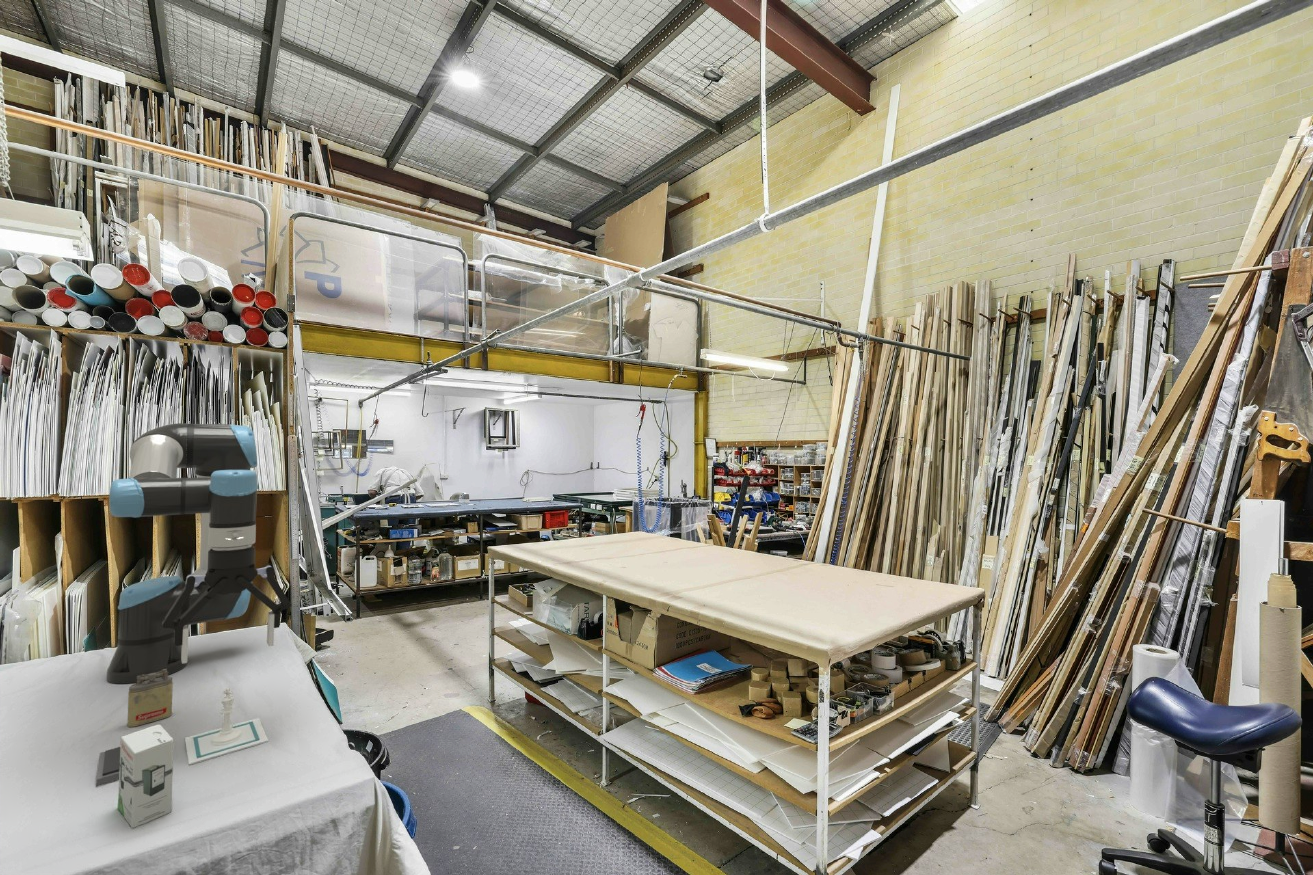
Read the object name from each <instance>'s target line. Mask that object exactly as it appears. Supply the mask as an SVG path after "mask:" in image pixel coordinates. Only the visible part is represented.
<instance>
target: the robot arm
mask: <svg viewBox="0 0 1313 875" xmlns="http://www.w3.org/2000/svg"><path fill="white" fill-rule="evenodd" d="M256 445H257V444H256V439H255V434H254V431H253V429H252V428H251V427H249V426H247V425H242V424H241V425H237V424H232V423H231V424H230V423H229V424H225V423H221V424H220V423H217V424H216V423H184V422H183V423H182V422H181V423H171V424H166V425H161V426H159V427H156V428H153V429H150V430H148V431H146V432H144V433H142V434H141V435H140V436H138V437H137V438H136V439H135V440H134V441H133V442H132V444H131V447H130V449H129V459H130V461H131V463H132V464H131V469H130V471H129V477H127V478H121V479H120V478H117V479H114V480H113V481H112V482H111V483H110V487H109V499H108V500H109V501H108V503H109V504H108V506H109V514H110V515H111V516H112V517H114V518H115V517H116V518H134V519H135V518H136V519H137V518H141V517H155V516H173V515H175V516H176V515H177V516H178V515H194V514H195V515H196V514H201V519H200V520H201V521H200V522H201V524H200V546H199V547H200V548H199V567H198V568H197V569H196V570H195V571H193V572H192V573H191V574H190V573H189V574H187V576H186V578H185V580H183V579H182V578H181V577H180V575H171V576H162V577H161V576H160V577H155V578H151V579H146V580H143V581H140V582H135V583H133V584H130V585H129V586H127V587H125V588H124V589H123V590H122V591H121V592H120V594H119V602H118V606H117V609H118V628H117V630H118V632H117V634H118V635H117V647H116V649H115V652H114V654H113V656H112V659H111V661H110V663H109V665H108V668H107V671H106V681H107V682H108V683H111V684H135V683H136V682H137V676H140V675H147V674H151V673H155V672H159V671H162V670H163V669H167V672H168V676H169V675H171V674H174V673H176V672H178V671H180V670H182V669H184V668H185V667H186V666H187V664H188V656H189V655H188V652H189V651H188V650H189V625H196V624H197V625H198V624H203V623H204V624H205V623H209V622H210V623H211V622H217V621H226V620H229V619H233V618H240V617H241V616H243V615H244V614H246V611H247V609H248V607H249V604H250V600H251V594H252V595H253V596H254V597H255V598H257V599H258V600H259V601H260V602H261V603H263V604H264V605H265V606H266V607H268V608H269V609H270V610H271V611H267V623H266V624H267V626H266V627H267V630H266V644H267V646H268V647H272V646H274V641H275V640H274V638H275V633H274V632H275V629H278V628H280V626H281V614H282V611H284V610H286V609H289V608H291V607H292V604H291V601H290V600H289V599H288V597H287V596H286V593H285V592H284V591H283V589H282V587H281V585H280V583H278V581H277V580H276V578H275V570H274V568H273V566H271V565H270V564H268V565H265V567H261V568H256V546H254V544H255V543H256V538H257V537H256V535H257V534H256V533H257V531H256V530H257V529H256V528H257V526H256V525H257V521H256V520H257V519H256V517H257V506H258V505H257V503H258V501H257V500H258V498H257V497H258V489H259V484H258V475H257V472H256V471H254V470H251V469H254V468H255V469H256V468H257V467H258V454H257V446H256ZM178 469H195V471H194V472H195V474H194V475H195V476H196V477H177V476H178V475H177V474H178ZM259 575H260V577H261V578H263V579H266V581H267V582H268V584H269V585H270V587H271V588H272V591H273V592H274V593H275V595H276V597H277V598H278V600H279V601H280V603H278V604H277V603H276V602H274V600H272V599H271V598H270V597H269V596H267V594H265V593H264V591H262V590H261V589H259V588H258V587H257V586H256V585H255V584H254V583H253V581H254V580H255V579H256V577H258V576H259ZM182 580H183V581H182ZM157 674H158V673H157ZM161 677H162V676H160V677H157V678H161ZM144 681H148V680H143V681H142V682H144Z"/></svg>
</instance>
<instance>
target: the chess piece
mask: <svg viewBox="0 0 1313 875" xmlns="http://www.w3.org/2000/svg"><path fill="white" fill-rule="evenodd" d="M222 695H225V697H223V698H222V699H221V700H220V701H221V704H222V707H223V709H221V711H220V714H222V715H223V720H222V727H221V728H222V730H221V731H220V732H219V733H217V734H216V735H214V736H213V737H212V739H211V744H212V745H216V746H219V745H225V744H229V743H232V742H234V741H236V740H238V739H239V738H240V737H241V736H242V732H241V730H239V729H234V728H232V725H233V724H232V718H231V713H232V712H234V711H235V708H234V707H231V706H232V705H233V703H234V699H235V697H234V696H231V695H233V691H231V687H229V688H225V691H223V694H222Z"/></svg>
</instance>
